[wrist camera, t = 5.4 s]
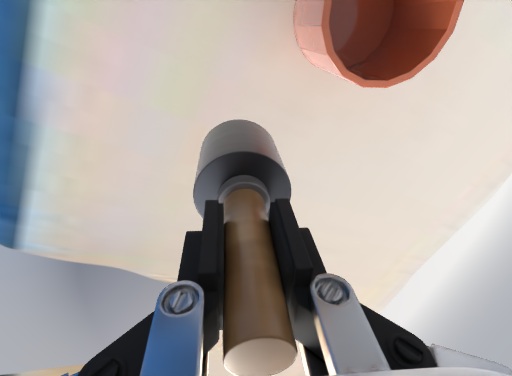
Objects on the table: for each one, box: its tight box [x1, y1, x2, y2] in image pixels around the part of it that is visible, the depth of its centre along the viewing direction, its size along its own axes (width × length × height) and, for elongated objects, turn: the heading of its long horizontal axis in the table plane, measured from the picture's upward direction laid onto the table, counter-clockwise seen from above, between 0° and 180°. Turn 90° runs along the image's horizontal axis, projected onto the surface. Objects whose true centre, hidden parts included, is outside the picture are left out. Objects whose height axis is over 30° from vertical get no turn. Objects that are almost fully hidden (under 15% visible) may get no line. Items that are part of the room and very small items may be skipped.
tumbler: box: [294, 0, 464, 88], centre depth 21 cm, size 9×9×8 cm
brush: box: [193, 120, 297, 376], centre depth 13 cm, size 5×5×13 cm
